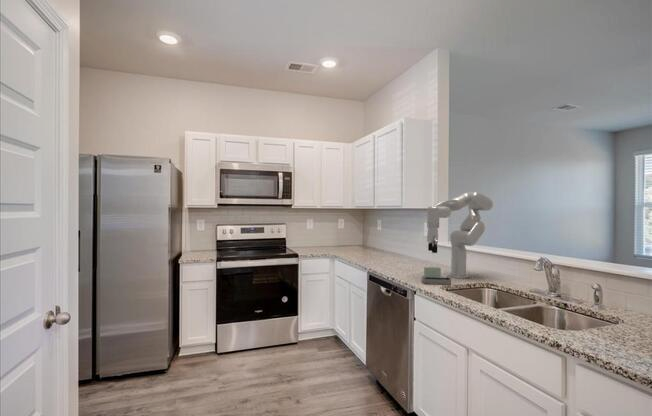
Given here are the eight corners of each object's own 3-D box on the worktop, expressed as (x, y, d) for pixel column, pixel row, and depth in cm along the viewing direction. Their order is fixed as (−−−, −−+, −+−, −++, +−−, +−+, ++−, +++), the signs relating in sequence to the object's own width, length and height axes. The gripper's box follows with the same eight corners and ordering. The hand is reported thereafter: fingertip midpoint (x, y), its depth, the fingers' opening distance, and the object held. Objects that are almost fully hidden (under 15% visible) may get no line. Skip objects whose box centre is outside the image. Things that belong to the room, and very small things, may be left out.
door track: (421, 281, 207) (422, 275, 207) (447, 282, 206) (447, 276, 206) (424, 284, 200) (424, 277, 200) (451, 285, 199) (451, 278, 199)
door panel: (423, 278, 215) (423, 266, 215) (439, 279, 214) (439, 267, 214) (424, 279, 212) (425, 267, 212) (440, 280, 211) (440, 268, 211)
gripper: (424, 224, 222) (423, 249, 222) (430, 226, 204) (430, 253, 205) (435, 224, 221) (435, 250, 221) (442, 226, 204) (442, 253, 204)
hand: (432, 251), depth 213 cm, fingers open, 9 cm apart
